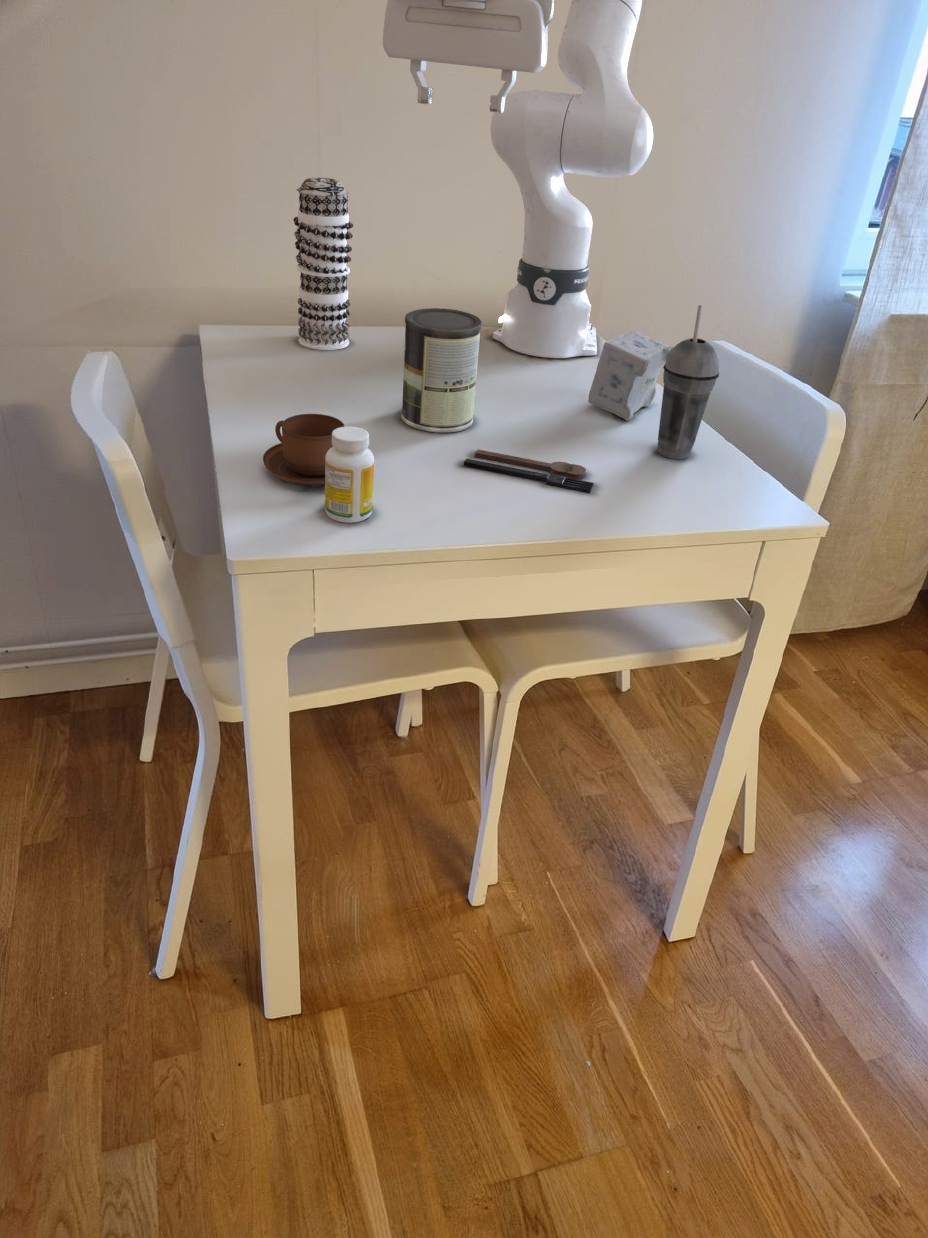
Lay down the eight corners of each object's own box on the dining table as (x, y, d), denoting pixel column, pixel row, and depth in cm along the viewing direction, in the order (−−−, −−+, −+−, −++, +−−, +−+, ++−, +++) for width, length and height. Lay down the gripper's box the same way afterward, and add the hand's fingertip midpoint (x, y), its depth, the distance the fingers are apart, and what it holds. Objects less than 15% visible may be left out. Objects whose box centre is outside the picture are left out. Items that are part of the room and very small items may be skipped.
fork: (467, 460, 120) (467, 456, 120) (593, 485, 117) (594, 481, 117) (461, 467, 118) (462, 463, 118) (589, 493, 115) (590, 488, 115)
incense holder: (634, 424, 136) (647, 353, 130) (584, 409, 140) (595, 340, 134) (662, 407, 143) (676, 339, 137) (614, 393, 147) (625, 326, 141)
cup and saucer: (246, 483, 110) (243, 433, 107) (288, 446, 120) (287, 400, 116) (341, 502, 108) (341, 452, 104) (376, 463, 118) (378, 416, 114)
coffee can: (387, 421, 129) (390, 318, 122) (423, 400, 137) (429, 303, 130) (452, 439, 126) (459, 335, 118) (485, 417, 134) (495, 317, 126)
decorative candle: (339, 354, 152) (340, 187, 138) (287, 345, 154) (282, 180, 140) (359, 339, 160) (362, 180, 146) (309, 330, 161) (307, 172, 148)
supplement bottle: (332, 526, 103) (332, 444, 97) (319, 505, 107) (319, 425, 101) (379, 521, 105) (381, 440, 99) (364, 500, 109) (366, 422, 103)
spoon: (479, 450, 123) (479, 445, 123) (588, 471, 120) (588, 466, 120) (472, 459, 121) (473, 454, 120) (583, 481, 118) (584, 476, 118)
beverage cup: (710, 455, 128) (745, 307, 118) (681, 467, 124) (714, 315, 113) (666, 437, 132) (696, 293, 122) (636, 449, 128) (665, 301, 117)
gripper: (561, -17, 110) (546, 115, 117) (398, -31, 114) (393, 97, 121) (550, -21, 105) (535, 118, 112) (380, -36, 109) (376, 99, 116)
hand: (460, 107), depth 117 cm, fingers open, 8 cm apart
